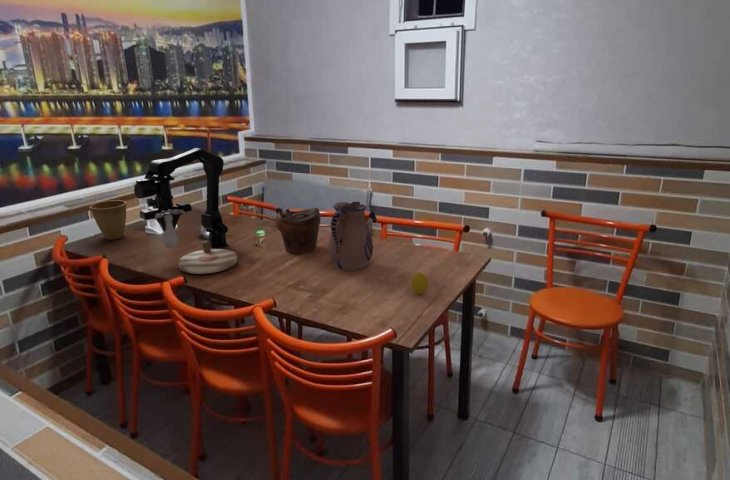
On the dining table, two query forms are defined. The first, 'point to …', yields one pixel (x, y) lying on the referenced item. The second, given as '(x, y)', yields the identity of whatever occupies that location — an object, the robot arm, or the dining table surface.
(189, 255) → the lazy susan
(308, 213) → the brown tapered round container
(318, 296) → the dining table surface
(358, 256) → the ceramic pitcher
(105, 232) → the plant pot
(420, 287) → the lemon
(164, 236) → the salt shaker
